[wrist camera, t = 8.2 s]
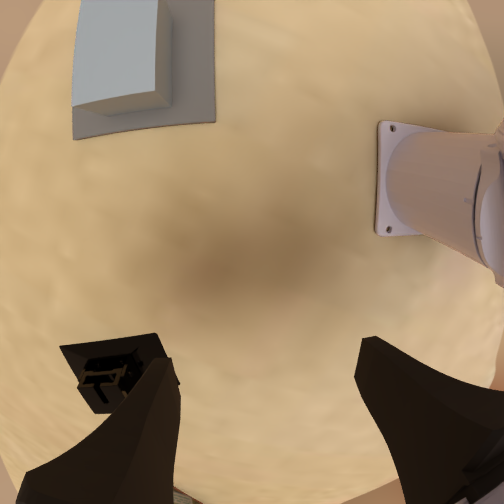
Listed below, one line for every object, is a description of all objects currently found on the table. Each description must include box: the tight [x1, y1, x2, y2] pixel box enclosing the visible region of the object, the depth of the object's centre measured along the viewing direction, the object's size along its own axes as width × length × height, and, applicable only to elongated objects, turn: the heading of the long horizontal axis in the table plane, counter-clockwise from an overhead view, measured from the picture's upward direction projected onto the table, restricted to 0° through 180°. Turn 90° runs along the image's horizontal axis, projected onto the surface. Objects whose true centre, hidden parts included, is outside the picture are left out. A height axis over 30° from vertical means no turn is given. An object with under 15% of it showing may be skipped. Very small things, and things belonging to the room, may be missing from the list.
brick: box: [72, 0, 173, 116], centre depth 12 cm, size 4×6×5 cm, turn 2°
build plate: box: [59, 333, 180, 414], centre depth 20 cm, size 12×7×5 cm, turn 101°
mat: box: [72, 0, 215, 140], centre depth 14 cm, size 9×9×1 cm
